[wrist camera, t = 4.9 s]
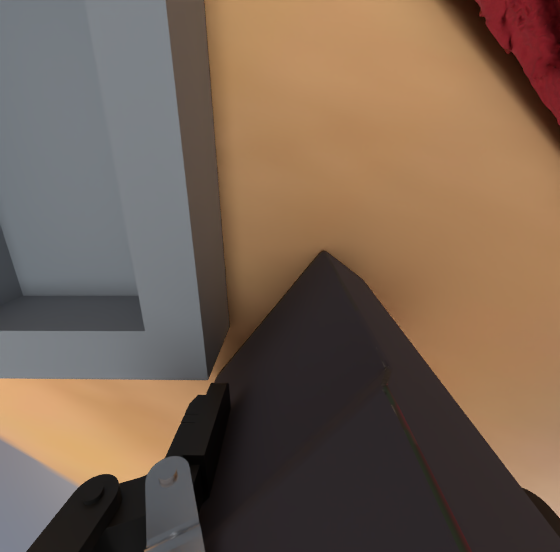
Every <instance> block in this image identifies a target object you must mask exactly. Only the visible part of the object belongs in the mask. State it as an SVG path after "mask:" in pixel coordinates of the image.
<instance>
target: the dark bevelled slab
mask: <svg viewBox="0 0 560 552" xmlns="http://www.w3.org/2000/svg"><path fill="white" fill-rule="evenodd" d="M214 383H228V384H229V390H230V402H231V410H230V414H229V418H228V422H227V426H226V431H225V435H224V439H223V443H222V447H221V452H220V456H219V460H218V464H217V468H216V472H215V477H214V481H213V485H212V489H211V493H210V497H209V498H208V499H207V500H206V501H205V502H204V503H203V504H202V505H201V509H200V513H199V516H198V517H199V523H200V527H201V532H202V537H203V543H204V549H205V552H560V538H559V536H558V535H557V534H556V532H555V531H554V530H553V528H552V527H551V526H550V525H549V523H548V522H547V521H546V519H545V518H544V517H543V515H542V514H541V513H540V511H539V510H538V509H537V507H536V506H535V505H534V504H533V502H532V501H531V500H530V498H529V497H528V496H527V494H526V493H525V492H524V490H523V489H522V488H521V486H520V485H519V484H518V483H517V481H516V480H515V479H514V477H513V476H512V475H511V473H510V472H509V471H508V469H507V468H506V467H505V465H504V464H503V463H502V462H501V460H500V459H499V458H498V456H497V455H496V454H495V452H494V451H493V450H492V448H491V447H490V446H489V444H488V443H487V442H486V441H485V439H484V438H483V437H482V435H481V434H480V433H479V431H478V430H477V429H476V427H475V426H474V425H473V424H472V422H471V421H470V420H469V418H468V417H467V416H466V414H465V413H464V412H463V410H462V409H461V408H460V406H459V405H458V404H457V403H456V401H455V400H454V399H453V397H452V396H451V395H450V393H449V392H448V391H447V389H446V388H445V387H444V385H443V384H442V383H441V382H440V380H439V379H438V378H437V376H436V375H435V374H434V372H433V371H432V370H431V368H430V367H429V366H428V364H427V363H426V362H425V361H424V359H423V358H422V357H421V355H420V354H419V353H418V351H417V350H416V349H415V347H414V346H413V345H412V343H411V342H410V341H409V340H408V338H407V337H406V336H405V334H404V333H403V332H402V330H401V329H400V328H399V326H398V325H397V324H396V322H395V321H394V320H393V319H392V317H391V316H390V315H389V313H388V312H387V311H386V309H385V308H384V307H383V305H382V304H381V303H380V301H379V300H378V299H377V298H376V296H375V295H374V294H373V292H372V291H371V290H370V288H369V287H368V286H367V284H366V283H365V282H364V281H363V280H362V279H361V278H360V277H359V276H357V275H356V274H355V273H354V272H352V271H351V270H350V269H348V268H347V267H346V266H345V265H343V264H342V263H341V262H339V261H338V260H337V259H335V258H334V257H333V256H331V255H330V254H329V253H327V252H326V251H322V252H321V253H320V254H319V255H318V256H317V257H316V258H315V259H314V261H313V262H312V263H311V264H310V265H309V267H308V268H307V269H306V270H305V271H304V273H303V274H302V275H301V276H300V277H299V279H298V280H297V281H296V282H295V283H294V285H293V286H292V287H291V288H290V289H289V291H288V292H287V293H286V294H285V295H284V297H283V298H282V299H281V300H280V301H279V303H278V304H277V305H276V306H275V307H274V309H273V310H272V311H271V312H270V313H269V315H268V316H267V317H266V318H265V319H264V321H263V322H262V323H261V324H260V325H259V327H258V328H257V329H256V330H255V331H254V333H253V334H252V335H251V336H250V337H249V339H248V340H247V341H246V342H245V343H244V345H243V346H242V347H241V348H240V349H239V351H238V352H237V353H236V354H235V355H234V357H233V358H232V359H231V360H230V361H229V363H228V364H227V365H226V366H225V367H224V369H223V370H222V371H221V372H220V373H219V375H218V376H217V378H216V380H215V382H214Z"/></svg>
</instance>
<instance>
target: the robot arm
mask: <svg viewBox="0 0 560 552" xmlns="http://www.w3.org/2000/svg"><path fill="white" fill-rule="evenodd" d="M230 410H231V402H230V390H229V384H228V383H211V384H210V386H209V389H208V391H207V394H206V395H198V396H197V397H196V398H195V399H194V400H193V401H192V402H191V403H190V404H189V406H188V408H187V410H186V413H185V416H184V417H183V419H182V422H181V424H180V426H179V428H178V430H177V433H176V435H175V437H174V439H173V442H172V444H171V446H170V448H169V450H168V453H167V455H166V457H165V459H162V460H161V461H159V462H158V463H156V464H155V465H154V466H153V467H152V468H151V470H150V471H149V473H148V474H147V475H145V476H143V477H140V478H137V479H133V480H130V481H126V482H123V483H119V482H118V480H117V478H116V477H115V476H113V475H110V474H102V475H98V476H95V477H93V478H91V479H89V480H88V481H86V482H85V483H83V484H82V485H81V486H80V487H79V488H78V489H77V490H76V491H75V492H74V493H73V494H72V496H71V497H70V498H69V499H68V501H67V502H66V503H65V504H64V506H63V507H62V508H61V509H60V511H59V512H58V513H57V514H56V515H55V517H54V518H53V519H52V520H51V522H50V523H49V524H48V525H47V527H46V528H45V529H44V530H43V532H42V533H41V534H40V535H39V537H38V538H37V539H36V540H35V542H34V543H33V544H32V545H31V547H30V548H29V549H28V550H27V552H205V549H204V543H203V537H202V532H201V527H200V523H199V517H198V516H199V513H200V509H201V505H202V504H203V503H204V502H205V501H206V500H207V499H208V498H209V497H210V493H211V489H212V485H213V481H214V477H215V472H216V468H217V464H218V460H219V456H220V452H221V447H222V443H223V439H224V435H225V431H226V426H227V422H228V418H229V414H230ZM522 489H523V490H524V492H525V493H526V494H527V496H528V497H529V498H530V500H531V501H532V502H533V504H534V505H535V506H536V507H537V509H538V510H539V511H540V513H541V514H542V515H543V517H544V518H545V519H546V521H547V522H548V523H549V525H550V526H551V527H552V528H553V530H554V531H555V532H556V534H557V535H558V536H559V538H560V518H559V517H558V516H557V515H556V514H555V512H554V511H553V510H552V509H551V508H550V507H549V506H548V505H547V504H546V503H545V502H544V501H543V500H542V499H541V498H539V497H538V496H537V495H535V494H534V493H532V492H530V491H528V490H526V489H524V488H522Z"/></svg>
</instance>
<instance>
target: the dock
mask: <svg viewBox="0 0 560 552" xmlns="http://www.w3.org/2000/svg"><path fill="white" fill-rule="evenodd" d="M229 327H230V326H229V313H228V300H227V288H226V275H225V262H224V249H223V236H222V224H221V211H220V198H219V185H218V172H217V160H216V147H215V134H214V121H213V108H212V96H211V83H210V70H209V57H208V44H207V31H206V19H205V6H204V0H0V378H27V379H140V380H208V379H209V377H210V374H211V372H212V369H213V367H214V364H215V362H216V359H217V357H218V354H219V352H220V349H221V347H222V344H223V342H224V339H225V337H226V334H227V332H228V329H229Z"/></svg>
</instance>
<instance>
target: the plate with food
mask: <svg viewBox="0 0 560 552" xmlns="http://www.w3.org/2000/svg"><path fill="white" fill-rule="evenodd" d="M475 1H476V2H477V3H478V5H479V6H480V8H481V10H480V13H479V16H480V17H485V18H486V26H487V28H488V29H489V30H490V32H491V33H492V34H493V36H494V37H495V38H496V40H497V41H498V43H499V44H500V46H501V47H503V48H504V50H505V52H506V53H507V54H510V52H512V53H513V54H514V55H515V56H516V58H517V59H518V61H519V63H520V64H521V66H522V67H523V70H524V73H525V75H526V76H527V77H528V78H529V80H530V83H531V85H532V87H533V88H534V89H535V90H536V92H537V94H538V95H539V97H540V99H541V100H542V102H543V103H544V105H545V106H546V107H547V108H548V109H549V110H551V112H552V113H553V115H554V116H555V117H556V119H557V122H558V124H559V126H560V0H475Z"/></svg>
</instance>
